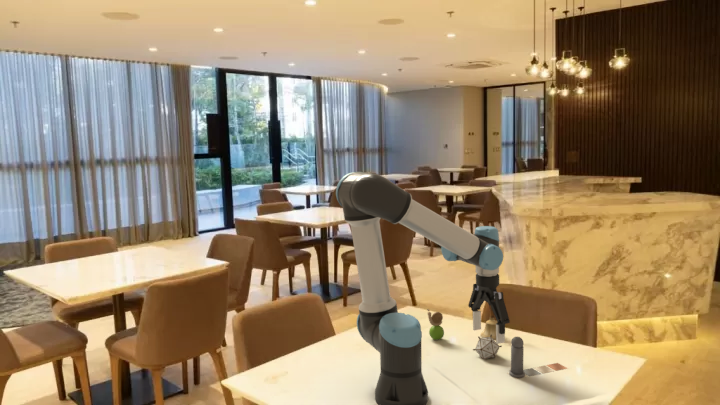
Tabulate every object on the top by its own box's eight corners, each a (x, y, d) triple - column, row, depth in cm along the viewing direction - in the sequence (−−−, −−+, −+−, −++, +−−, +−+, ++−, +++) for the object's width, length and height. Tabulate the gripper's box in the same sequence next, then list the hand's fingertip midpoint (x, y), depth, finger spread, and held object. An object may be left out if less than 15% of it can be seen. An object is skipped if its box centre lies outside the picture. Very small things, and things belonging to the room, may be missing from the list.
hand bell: (501, 332, 205) (502, 291, 204) (504, 340, 197) (504, 297, 196) (479, 331, 207) (479, 291, 205) (481, 339, 198) (481, 297, 197)
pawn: (515, 379, 162) (515, 340, 161) (506, 373, 167) (506, 335, 165) (528, 376, 164) (528, 338, 163) (518, 370, 168) (518, 333, 167)
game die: (492, 371, 179) (502, 355, 173) (468, 361, 181) (477, 345, 174) (496, 350, 186) (506, 334, 179) (473, 341, 187) (482, 324, 181)
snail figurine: (424, 338, 200) (423, 307, 199) (438, 335, 203) (438, 304, 202) (432, 343, 196) (431, 311, 194) (447, 340, 198) (446, 308, 197)
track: (515, 384, 161) (515, 381, 161) (501, 375, 168) (501, 372, 168) (572, 372, 168) (572, 369, 168) (556, 364, 175) (556, 361, 175)
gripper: (520, 280, 167) (521, 346, 169) (476, 264, 190) (477, 322, 193) (500, 283, 164) (501, 350, 167) (457, 267, 187) (459, 326, 190)
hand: (488, 336), depth 180 cm, fingers open, 13 cm apart
